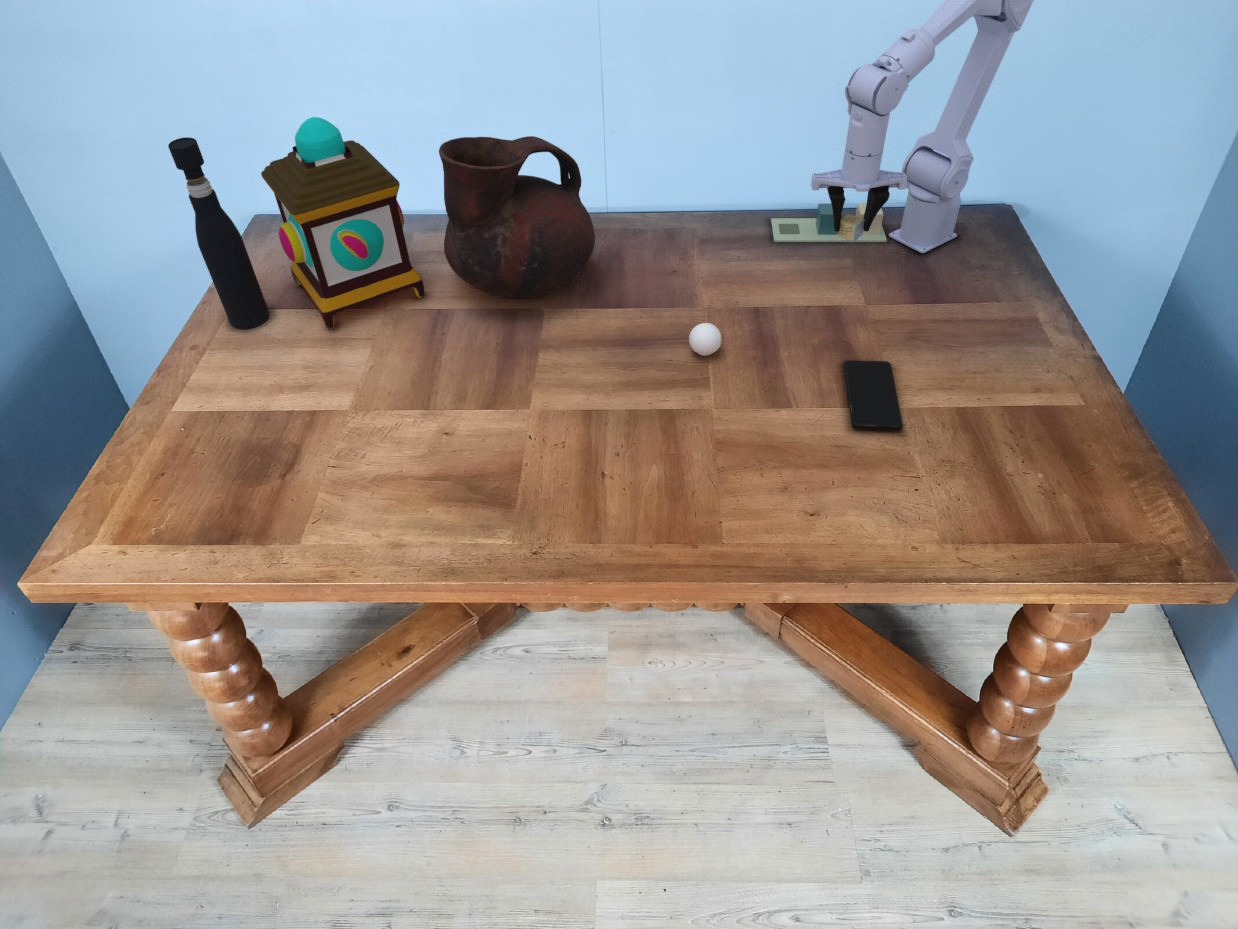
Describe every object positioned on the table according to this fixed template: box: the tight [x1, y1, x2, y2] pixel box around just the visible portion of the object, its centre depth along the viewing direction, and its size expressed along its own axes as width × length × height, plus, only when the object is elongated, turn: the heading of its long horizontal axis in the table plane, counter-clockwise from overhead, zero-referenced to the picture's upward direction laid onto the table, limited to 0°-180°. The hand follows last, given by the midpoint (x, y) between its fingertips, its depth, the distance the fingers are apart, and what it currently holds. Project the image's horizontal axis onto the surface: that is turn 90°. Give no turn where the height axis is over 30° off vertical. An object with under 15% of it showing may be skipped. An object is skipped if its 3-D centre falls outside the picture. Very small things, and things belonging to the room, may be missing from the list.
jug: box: [438, 135, 596, 300], centre depth 143 cm, size 25×25×25 cm
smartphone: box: [843, 359, 904, 432], centre depth 126 cm, size 7×1×15 cm
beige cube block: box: [854, 203, 884, 234], centre depth 159 cm, size 4×4×4 cm
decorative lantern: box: [260, 116, 425, 330], centre depth 140 cm, size 20×20×30 cm
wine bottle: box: [168, 136, 270, 330], centre depth 136 cm, size 6×6×30 cm
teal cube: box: [815, 203, 845, 235], centre depth 159 cm, size 4×4×4 cm
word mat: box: [770, 217, 888, 243], centre depth 160 cm, size 20×8×1 cm, turn 87°
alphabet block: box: [838, 213, 865, 243], centre depth 145 cm, size 3×3×3 cm
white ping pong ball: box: [688, 322, 722, 357], centre depth 134 cm, size 5×5×5 cm
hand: (850, 228), depth 145 cm, fingers closed on alphabet block, 4 cm apart
